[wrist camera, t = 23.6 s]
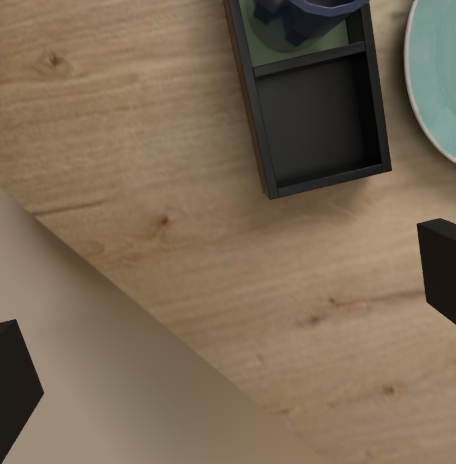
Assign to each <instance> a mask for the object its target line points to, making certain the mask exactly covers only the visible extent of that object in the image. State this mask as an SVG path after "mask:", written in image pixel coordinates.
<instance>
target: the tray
mask: <svg viewBox="0 0 456 464" xmlns="http://www.w3.org/2000/svg"><path fill="white" fill-rule="evenodd" d="M223 5H224V10H225V14H226V19H227V24H228V28H229V33H230V38H231V43H232V47H233V52H234V57H235V61H236V66H237V71H238V76H239V80H240V85H241V90H242V94H243V99H244V104H245V109H246V113H247V118H248V123H249V127H250V132H251V137H252V141H253V146H254V151H255V156H256V160H257V165H258V170H259V174H260V179H261V184H262V189H263V193H264V194H265V195H266V196H267V197H268V198H269V199H270V200H272V199H276V198H280V197H284V196H288V195H293V194H297V193H301V192H305V191H309V190H314V189H318V188H322V187H326V186H330V185H335V184H339V183H343V182H347V181H351V180H356V179H360V178H364V177H368V176H372V175H377V174H381V173H385V172H389V171H392V167H391V159H390V152H389V145H388V137H387V130H386V123H385V115H384V108H383V101H382V93H381V86H380V79H379V71H378V64H377V57H376V49H375V42H374V35H373V27H372V20H371V13H370V5H369V1H368V2H367V3H366V4H365V5H363V6H362V7H361V8H360V9H358V10H357V11H356V12H354V13H353V14H352V15H351V16H349V17H348V18H347V19H345V20H344V21H343V22H342V23H340V24H339V25H338V26H337V27H335V28H334V29H333V30H331V31H330V32H329V33H328V34H326V35H325V36H324V37H322V38H321V39H320V40H318V41H317V42H316V43H314V44H313V45H312V46H310V47H309V48H306V49H304V50H301V51H296V52H281V51H278V50H275V49H272V48H270V47H269V46H267V45H265V44H264V43H263V42H262V41H261V40H260V39H259V38H258V37H257V36H256V35H255V33H254V32H253V30H252V28H251V26H250V24H249V21H248V17H247V13H246V0H223Z"/></svg>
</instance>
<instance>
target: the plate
mask: <svg viewBox="0 0 456 464" xmlns="http://www.w3.org/2000/svg"><path fill="white" fill-rule="evenodd" d="M403 58H404V74H405V81H406V87H407V92H408V96H409V100H410V103H411V106H412V109H413V112H414V114H415V117H416V119H417V121H418V123H419V125H420V126H421V128H422V130H423V132H424V133H425V135H426V136H427V137H428V139H429V140H430V141H431V142H432V144H433V145H434V146H435V147H436V148H437V149H438V150H439V151H440V152H441V153H442V154H443V155H444V156H445V157H446V158H448V159H449V160H451V161H452V162H454V163H455V164H456V0H413V3H412V5H411V9H410V12H409V15H408V20H407V25H406V30H405V38H404V52H403Z"/></svg>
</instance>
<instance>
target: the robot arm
mask: <svg viewBox="0 0 456 464" xmlns="http://www.w3.org/2000/svg"><path fill="white" fill-rule="evenodd" d="M417 231H418V239H419V246H420V254H421V262H422V270H423V278H424V286H425V294H426V302H427V303H428V304H430V305H431V306H432V307H434V308H435V309H436V310H437V311H439V312H440V313H441V314H443V315H444V316H445V317H447V318H448V319H449V320H450V321H452V322H453V323H454V324H456V224H454V223H452V222H449V221H446V220H444V219H441V218H439V219H434V220H430V221H426V222H422V223H418V224H417ZM43 394H44V391H43V389H42V386H41V383H40V381H39V378H38V375H37V373H36V370H35V368H34V365H33V362H32V360H31V357H30V354H29V352H28V349H27V347H26V344H25V341H24V339H23V336H22V334H21V331H20V328H19V326H18V323H17V320H16V319H14V320H10V321H6V322H2V323H0V464H2V462H3V460H4V459H5V457H6V455H7V454H8V452H9V450H10V449H11V447H12V445H13V443H14V442H15V441H16V439H17V437H18V435H19V434H20V432H21V431H22V429H23V427H24V425H25V424H26V422H27V421H28V419H29V417H30V416H31V414H32V412H33V411H34V409H35V408H36V406H37V404H38V403H39V401H40V399H41V398H42V396H43Z"/></svg>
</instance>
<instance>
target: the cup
mask: <svg viewBox="0 0 456 464" xmlns="http://www.w3.org/2000/svg"><path fill="white" fill-rule="evenodd" d="M368 1H370V0H246V13H247V17H248V21H249V24H250V26H251V28H252V30H253V32H254V33H255V35H256V36H257V37H258V38H259V39H260V40H261V41H262V42H263V43H264V44H265V45H267V46H269V47H270V48H272V49H275V50H278V51H281V52H296V51H301V50H304V49H306V48H309V47H310V46H312V45H313V44H314V43H316V42H317V41H318V40H320V39H321V38H322V37H324V36H325V35H326V34H328V33H329V32H330V31H331V30H333V29H334V28H335V27H337V26H338V25H339V24H340V23H342V22H343V21H344V20H345V19H347V18H348V17H349V16H351V15H352V14H353V13H354V12H356V11H357V10H358V9H360V8H361V7H362V6H363V5H365V4H366V3H367V2H368Z"/></svg>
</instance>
